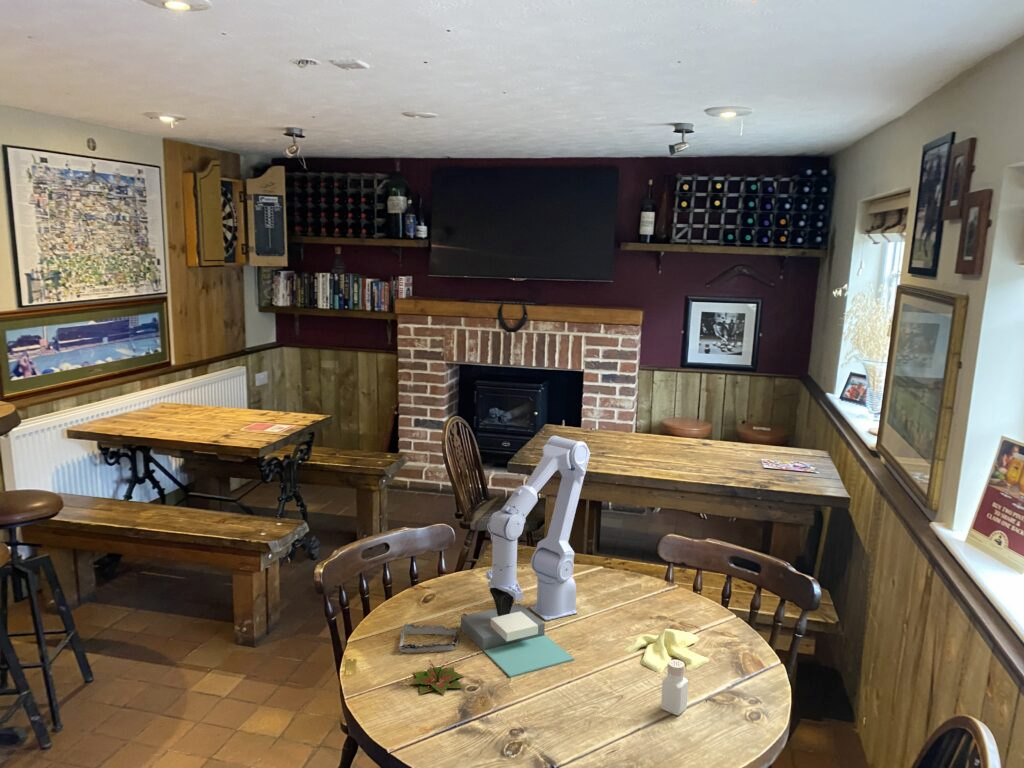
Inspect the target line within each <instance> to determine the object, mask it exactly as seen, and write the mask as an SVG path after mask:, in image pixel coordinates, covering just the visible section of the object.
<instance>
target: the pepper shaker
mask: <svg viewBox="0 0 1024 768" xmlns="http://www.w3.org/2000/svg"><path fill="white" fill-rule="evenodd" d="M685 670H686V664H684V662H683V661H681V660H680V659H671V660H670V661H669V662H668V666H667V675H665V677H664V678H663V679H662V681H661V682H662V685H661V686H662V687H661V705H660V708H661V710H663V711H666V712H667V713H670V714H672V715H675V716H680V715H681V714H682V713H683V712H684V711H685V710H686V709H687V707H688V694H689V693H688V690H689V680H688V678H686V677H684V676H685Z"/></svg>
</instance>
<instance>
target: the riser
mask: <svg viewBox="0 0 1024 768" xmlns="http://www.w3.org/2000/svg"><path fill="white" fill-rule="evenodd" d="M520 611H521V612H522V613H524V614H525V615H526V616H527V617H528V618H530V619H531V620H532V621H533V622H535V623H536V624H537V625H538V634H535V635H531V636H527V637H523V638H519V639H515V640H511V641H506V640H505V639H504V638H503V637H501V636H500V635H499V634H498V633H497V632H496V631H495V630H494V629H493V628H492V627H491V618H494V617H498V614H497V610H496V608H493V609H490V610H485V611H480V612H476V613H471V614H468V615H467V614H466V615H462V616H460V630H461V631H463V633H464V634H465V635H466V636H467V637H468V638H469V639H471V640H472V641H473V642H474V643H475V644H476V645H477V647H479V649H480V650H482V652H484V650H488V649H492V648H496V647H500V646H504V645H508V644H512V643H516V642H520V641H524V640H528V639H532V638H536V637H540V636H544V635H545V634H546V633H545V629H546V627H545V626H546V624H545V622H543V621H542V620H541V619H540V618H538V616H536V615H535V614H534V613H532V612H531V611H529V610H528V609H527V608H526V607H525V606H523V605H522V604H521V603H516V604H513V605H512V608H511V611H510V614H511V613H516V612H520Z"/></svg>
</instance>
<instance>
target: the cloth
mask: <svg viewBox="0 0 1024 768" xmlns="http://www.w3.org/2000/svg"><path fill="white" fill-rule="evenodd" d="M698 641H700V637H698V636H696V635H695V634H693V633H691V632H688V631H684V630H683V631H682V630H678V629H672V628H665V629H664V630H662V631H661V632H660V633H659V634H657V635H655V634H647V633H646V634H642V635H640V636H637V637H636V638H635V641H634V642H633V644H630V645H628V646H627V647H626V648H624V651H625V652H626V653H629V654H630V653H635V652H637V651H639V649H641V648H645V651H644V654H643V657H642V659H641V660H640V665H642V666H644V667H646V668H648V669H650V670H652V671H654V672H656V673H663V672H664V670H665V669H666V668H668V662H669V661H670V660H673V657H675V658H677V660H680V661H682V662H683V663H684V664H685V670H688V671H693V670H697V669H698V668H700V667H701V666H703V665H705V664H708V662H710V659H709V657H706V656H703V655H700V654H698V653H696V652H693V651H692V650H689V649H688V647H689V646H691V645H694V644H696V643H697V642H698Z"/></svg>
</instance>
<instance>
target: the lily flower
mask: <svg viewBox="0 0 1024 768" xmlns="http://www.w3.org/2000/svg"><path fill="white" fill-rule="evenodd" d="M441 660H442V661H441V662H440V664H439V666H436V665H438V664H437V662H436V664H433V663H432V661H431V660H429V659H428V662H430V663H429V665H430V666H429V668H428V669H426V670H421V671H416V672H412V673H413V675H414V676H415V678H414V680H413V681H412V682H411V683H410V684H409V685H410V686H411V685H419V684H420V686H419V695H422V694H426V693H428V692H434V691H437V692H438V693H440V694H441V695H442V696H444V695H445V693H446V691H447V689H464V687H463V686H462V684H461V683H460V681H458V680H457V679H458V678H463V677H465V675H462V674H460V673H459V672H456V671H455V666H452V667H451V666H449V667H444V666H445V665H446V664H447V663H449V661H446V662H445V663H444V664H442V662H443V661H444V658H442V659H441ZM441 664H442V665H441ZM432 667H433V668H432ZM443 674H444V675H443ZM433 679H434V680H435V682H440V680H442V681H443V680H444V681H443V682H442V681H441V682H442V683H441V682H440V683H434V682H433V681H434V680H433ZM432 680H433V681H432ZM431 681H432V682H431ZM448 682H449V683H448ZM428 686H429V687H428ZM430 686H431V687H430Z"/></svg>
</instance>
